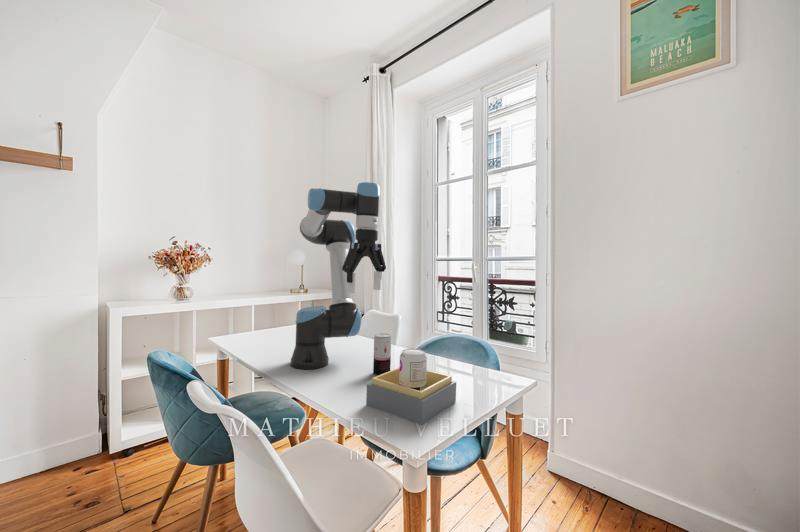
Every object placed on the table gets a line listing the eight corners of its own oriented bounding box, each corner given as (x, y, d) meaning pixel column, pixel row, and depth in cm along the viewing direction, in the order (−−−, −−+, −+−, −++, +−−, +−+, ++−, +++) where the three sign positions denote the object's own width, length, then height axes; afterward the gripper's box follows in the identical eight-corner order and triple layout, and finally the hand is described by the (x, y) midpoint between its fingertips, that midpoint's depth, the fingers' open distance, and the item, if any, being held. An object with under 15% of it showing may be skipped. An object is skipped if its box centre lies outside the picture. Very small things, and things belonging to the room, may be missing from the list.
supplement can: (395, 403, 106) (396, 353, 105) (402, 393, 114) (404, 347, 113) (421, 407, 103) (423, 356, 103) (427, 397, 111) (429, 349, 111)
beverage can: (389, 371, 141) (390, 333, 140) (390, 376, 134) (392, 337, 134) (372, 371, 140) (373, 333, 139) (373, 376, 133) (374, 337, 133)
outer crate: (366, 407, 106) (366, 384, 106) (404, 388, 122) (404, 368, 122) (421, 427, 94) (422, 401, 94) (455, 404, 110) (456, 381, 110)
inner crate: (371, 404, 106) (372, 378, 106) (404, 388, 120) (405, 364, 120) (420, 421, 96) (421, 392, 96) (450, 401, 110) (451, 376, 110)
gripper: (349, 226, 109) (347, 295, 110) (397, 231, 129) (394, 289, 130) (332, 226, 113) (330, 292, 114) (380, 231, 133) (378, 287, 135)
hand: (364, 291), depth 122 cm, fingers open, 13 cm apart
